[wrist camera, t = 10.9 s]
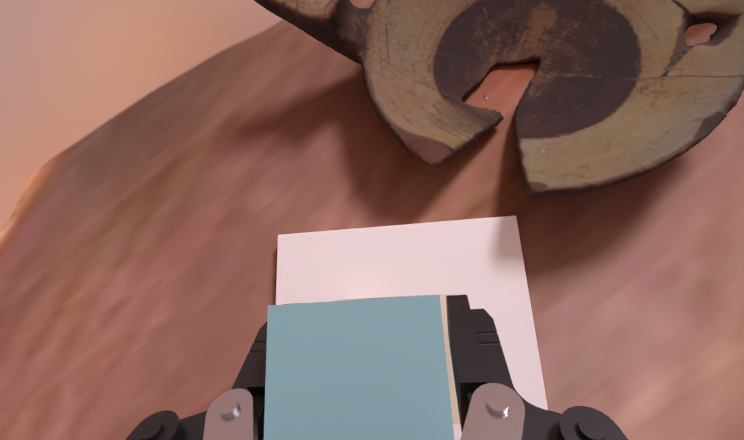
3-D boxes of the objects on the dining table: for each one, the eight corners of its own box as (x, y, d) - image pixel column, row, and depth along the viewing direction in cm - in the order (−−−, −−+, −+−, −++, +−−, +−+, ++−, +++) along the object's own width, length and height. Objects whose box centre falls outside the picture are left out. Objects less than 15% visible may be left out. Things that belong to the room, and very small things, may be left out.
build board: (512, 219, 24) (516, 215, 23) (558, 503, 20) (564, 512, 19) (283, 238, 26) (278, 234, 25) (275, 497, 22) (269, 505, 21)
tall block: (434, 310, 18) (439, 294, 9) (444, 408, 17) (461, 508, 8) (348, 315, 19) (267, 305, 10) (351, 410, 18) (261, 506, 8)
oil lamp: (633, 282, 22) (733, 261, 15) (257, 103, 30) (202, 32, 23) (753, 8, 26) (880, -116, 19) (390, -86, 34) (379, -199, 27)
